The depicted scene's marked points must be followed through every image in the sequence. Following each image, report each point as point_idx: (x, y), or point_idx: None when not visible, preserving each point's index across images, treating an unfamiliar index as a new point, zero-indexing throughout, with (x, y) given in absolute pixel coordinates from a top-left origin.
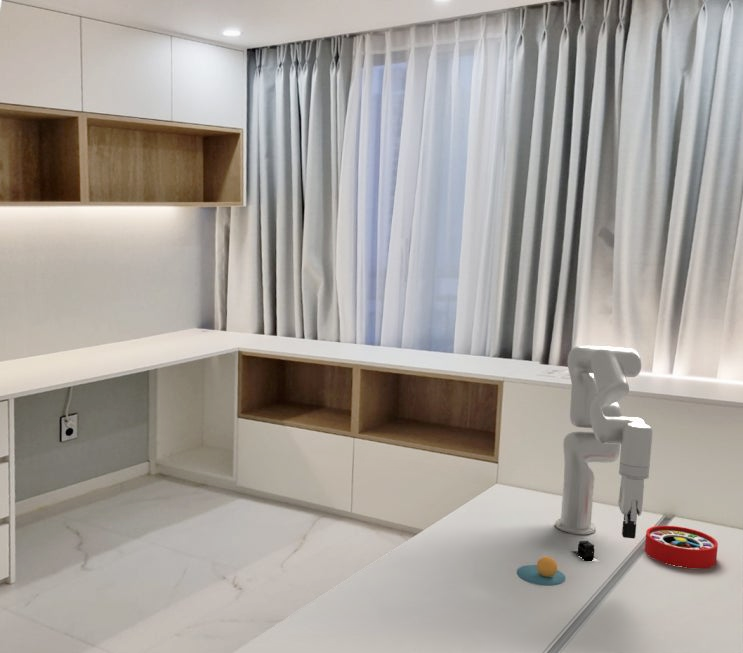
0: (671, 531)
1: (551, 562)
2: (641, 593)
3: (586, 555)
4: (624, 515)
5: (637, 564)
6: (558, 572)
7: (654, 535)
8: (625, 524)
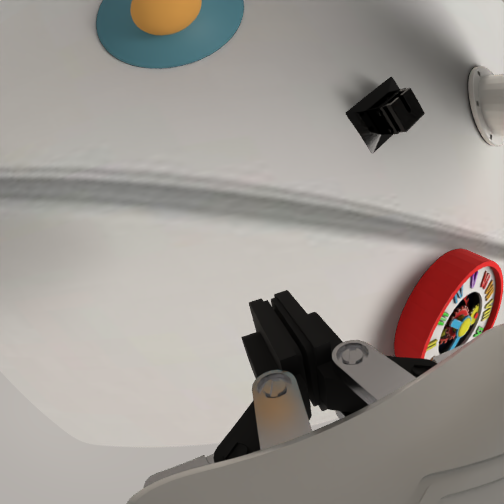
0: (492, 296)
1: (144, 7)
2: (193, 295)
3: (372, 112)
4: (356, 377)
5: (386, 249)
6: (212, 41)
7: (480, 274)
8: (278, 362)
